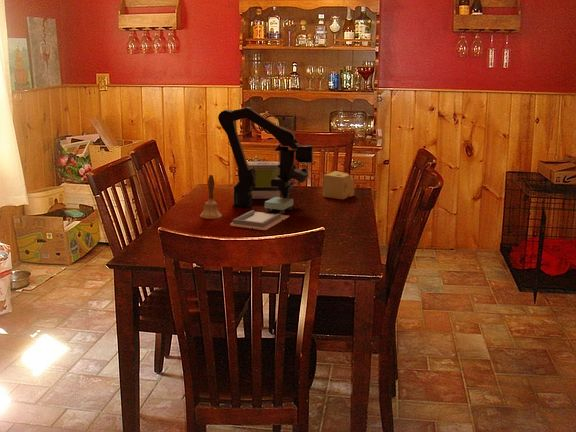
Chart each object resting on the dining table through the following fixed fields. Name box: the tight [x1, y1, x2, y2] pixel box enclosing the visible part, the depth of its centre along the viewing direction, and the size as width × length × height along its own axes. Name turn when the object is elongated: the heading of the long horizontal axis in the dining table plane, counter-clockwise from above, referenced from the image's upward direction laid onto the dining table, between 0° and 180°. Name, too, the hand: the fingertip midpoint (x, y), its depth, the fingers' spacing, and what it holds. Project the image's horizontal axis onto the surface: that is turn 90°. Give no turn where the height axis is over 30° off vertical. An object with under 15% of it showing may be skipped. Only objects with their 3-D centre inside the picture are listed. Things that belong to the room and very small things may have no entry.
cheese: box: [322, 170, 355, 200], centre depth 302 cm, size 10×11×10 cm
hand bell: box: [199, 174, 223, 220], centre depth 263 cm, size 8×8×16 cm
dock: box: [229, 209, 290, 231], centre depth 259 cm, size 14×22×2 cm, turn 157°
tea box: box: [247, 161, 281, 200], centre depth 298 cm, size 15×10×15 cm, turn 92°
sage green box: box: [264, 196, 294, 215], centre depth 274 cm, size 8×10×4 cm
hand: (286, 200), depth 280 cm, fingers closed
